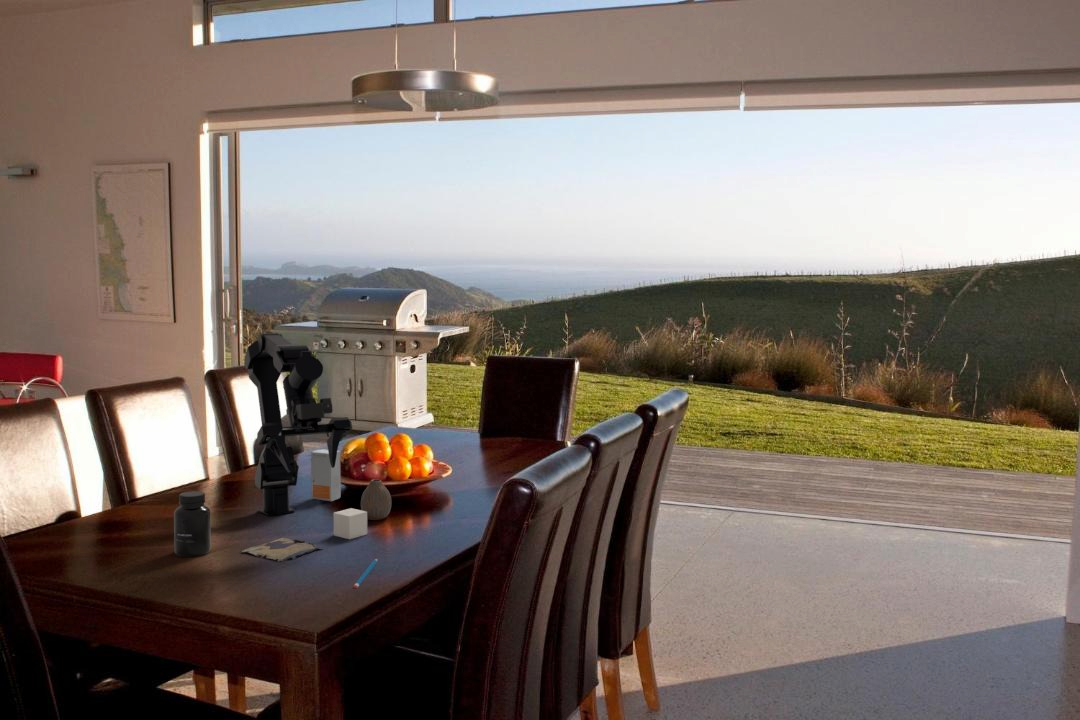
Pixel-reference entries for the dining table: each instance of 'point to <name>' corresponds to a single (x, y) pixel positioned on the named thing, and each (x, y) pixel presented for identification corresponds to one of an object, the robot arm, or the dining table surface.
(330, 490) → the skincare box
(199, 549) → the supplement bottle
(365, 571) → the pencil
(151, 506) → the dining table surface
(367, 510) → the vase
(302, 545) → the parchment
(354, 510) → the cream ceramic block
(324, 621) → the dining table surface
